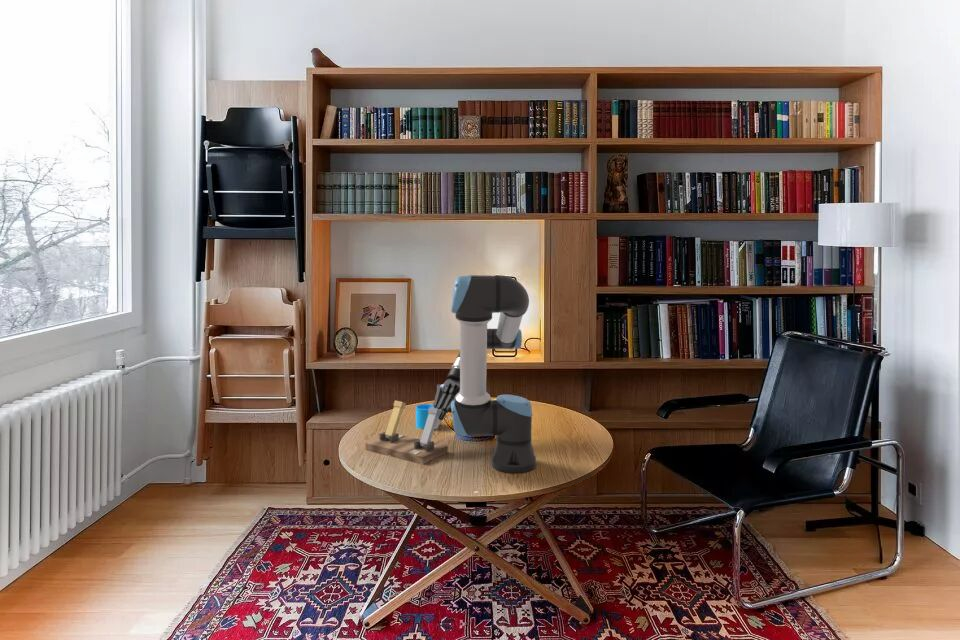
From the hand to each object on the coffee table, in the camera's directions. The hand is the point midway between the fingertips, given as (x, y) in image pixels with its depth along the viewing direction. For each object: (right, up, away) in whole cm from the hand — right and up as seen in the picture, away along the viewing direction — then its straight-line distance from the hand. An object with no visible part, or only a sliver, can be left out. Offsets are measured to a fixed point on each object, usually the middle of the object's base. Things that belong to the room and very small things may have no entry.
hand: (433, 426), depth 232 cm
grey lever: (-3, -6, -5) cm, 8 cm away
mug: (-5, -5, +31) cm, 31 cm away
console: (-10, -9, 0) cm, 13 cm away
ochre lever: (-16, -4, +4) cm, 17 cm away
